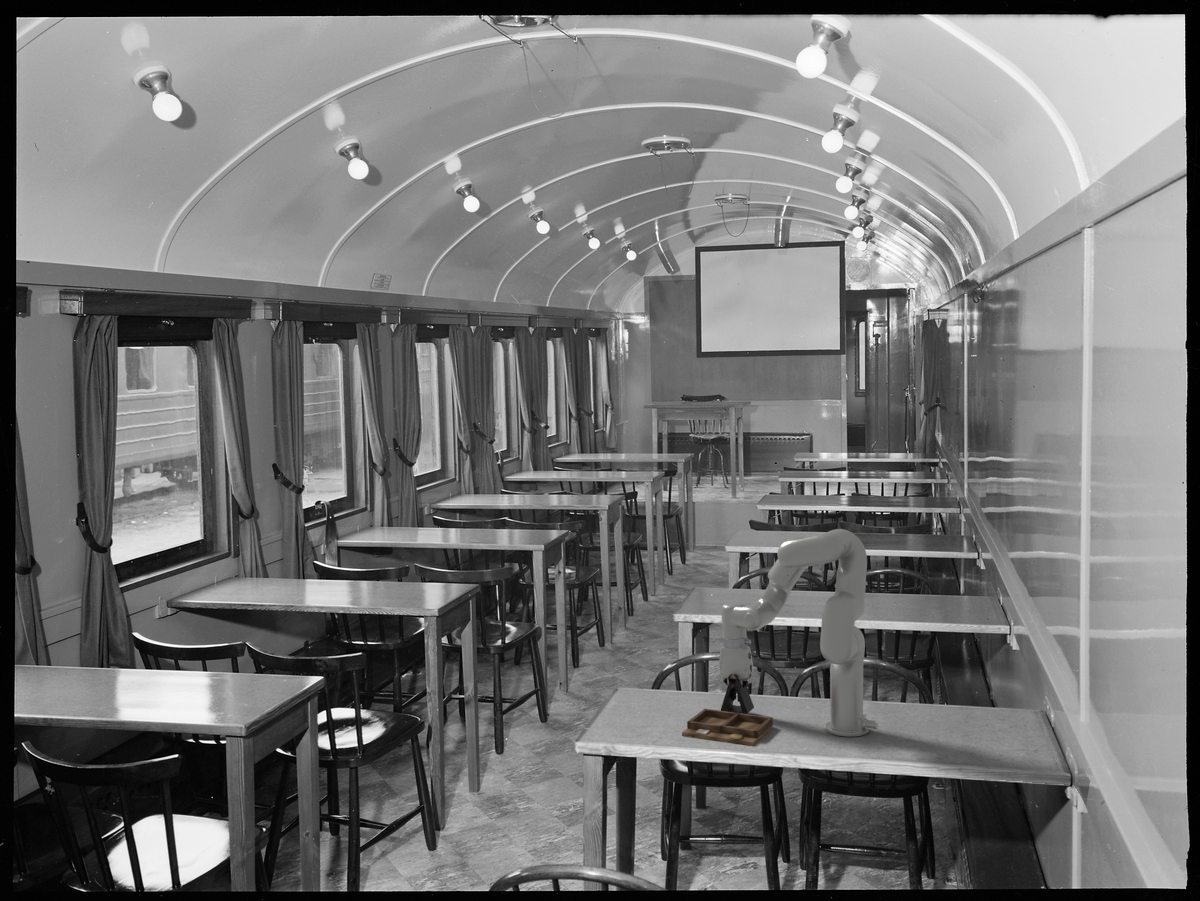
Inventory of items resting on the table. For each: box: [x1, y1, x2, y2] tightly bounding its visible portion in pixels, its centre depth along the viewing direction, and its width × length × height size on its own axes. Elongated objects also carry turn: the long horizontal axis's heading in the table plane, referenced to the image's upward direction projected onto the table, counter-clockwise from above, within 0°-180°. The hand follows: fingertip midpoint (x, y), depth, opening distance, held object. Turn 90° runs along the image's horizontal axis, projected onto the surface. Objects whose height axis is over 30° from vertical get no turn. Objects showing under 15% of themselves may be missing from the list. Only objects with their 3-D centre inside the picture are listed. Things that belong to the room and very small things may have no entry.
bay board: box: [681, 708, 774, 747], centre depth 319 cm, size 22×18×3 cm
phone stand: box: [720, 674, 755, 714], centre depth 336 cm, size 9×6×12 cm, turn 62°
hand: (737, 700), depth 336 cm, fingers closed on phone stand, 1 cm apart
